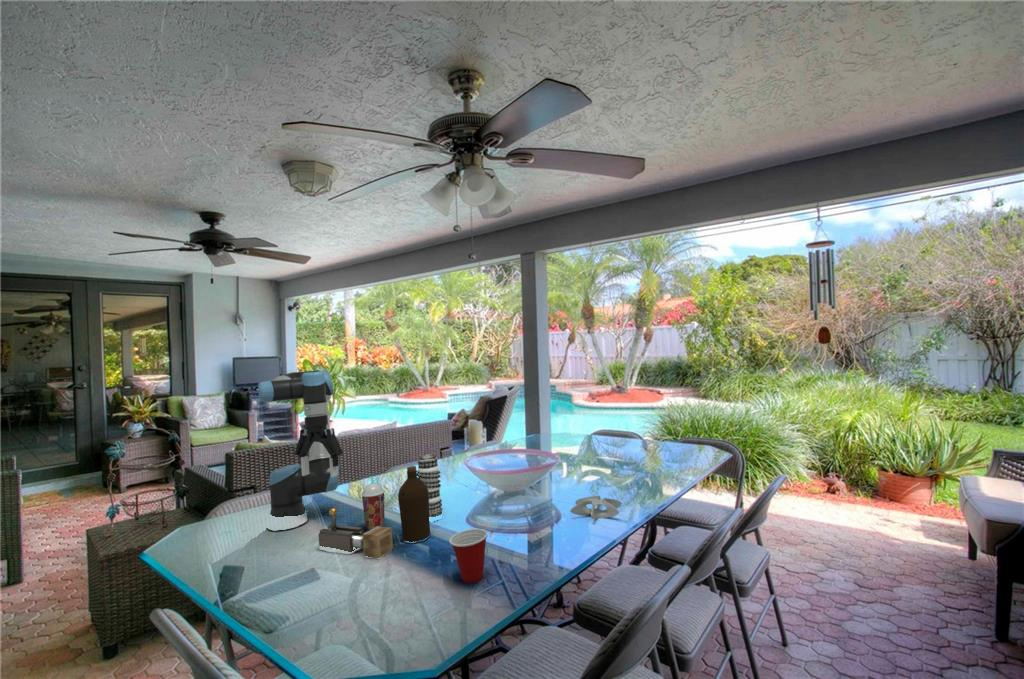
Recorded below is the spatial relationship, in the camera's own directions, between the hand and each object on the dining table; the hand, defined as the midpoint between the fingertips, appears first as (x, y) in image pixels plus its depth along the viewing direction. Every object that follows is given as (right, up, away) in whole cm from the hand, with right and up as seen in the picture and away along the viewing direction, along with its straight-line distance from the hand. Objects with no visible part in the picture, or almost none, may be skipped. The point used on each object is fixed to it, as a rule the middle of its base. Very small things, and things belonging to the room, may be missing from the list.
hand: (319, 475), depth 163 cm
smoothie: (+16, -24, +12) cm, 31 cm away
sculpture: (+99, -17, +7) cm, 101 cm away
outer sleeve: (+10, -24, -5) cm, 26 cm away
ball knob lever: (+11, -22, -6) cm, 26 cm away
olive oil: (+35, -22, -1) cm, 41 cm away
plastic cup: (+57, -19, -34) cm, 69 cm away
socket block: (+24, -22, -12) cm, 35 cm away
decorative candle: (+37, -23, +18) cm, 47 cm away
